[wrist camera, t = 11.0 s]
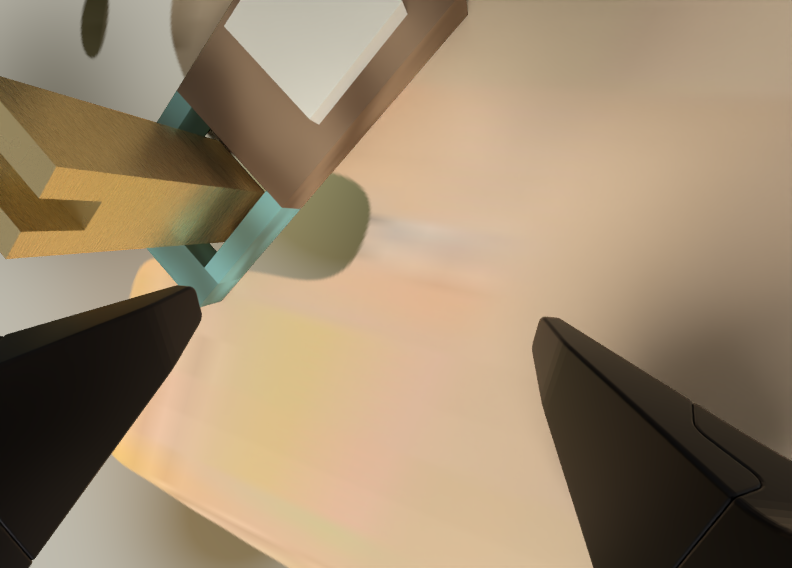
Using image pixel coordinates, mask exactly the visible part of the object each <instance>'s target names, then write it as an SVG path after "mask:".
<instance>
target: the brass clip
mask: <svg viewBox="0 0 792 568" xmlns="http://www.w3.org/2000/svg"><path fill="white" fill-rule="evenodd" d="M264 193H265V192H264V191H263V189H262V188H261V187H260V186H259V185H258V184H257V183H256V182H255V180H253V178H252V177H251V176H250V175H249V174H248V172H247V171H246V170H245V169H244V168H243V167H242V166H241V165H240V164H239V162H238V161H237V160H236V159H235V158H234V157H233V156H232V154H231V153H230V152H229V151H228V150H227V149H226V148H225V147H224V145H223V144H222V143H221V142H220V141H217V140H214V139H211V138H207V137H204V136H200V135H197V134H194V133H190V132H187V131H184V130H180V129H177V128H173V127H170V126H167V125H163V124H160V123H156V122H153V121H150V120H146V119H143V118H139V117H136V116H133V115H129V114H126V113H123V112H119V111H116V110H112V109H109V108H106V107H102V106H99V105H96V104H92V103H89V102H85V101H82V100H78V99H75V98H72V97H68V96H65V95H62V94H58V93H55V92H51V91H48V90H45V89H41V88H38V87H34V86H31V85H28V84H25V83H21V82H18V81H14V80H11V79H7V78H4V77H1V76H0V253H1V254H2V255H3V256H4V258H5V259H13V258H25V257H38V256H50V255H64V254H76V253H89V252H102V251H114V250H115V251H116V250H127V249H141V248H154V247H167V246H180V245H193V244H206V243H218V242H226V240H227V239H228V238H229V237H230V235H231V234H232V233H233V232H234V230H235V229H236V228H237V227H238V225H239V224H240V223H241V222H242V220H243V219H244V218H245V217H246V215H247V214H248V213H249V212H250V210H251V209H252V208H253V207H254V205H255V204H256V203H257V202H258V200H259V199H260V198H261V197H262V195H263V194H264Z"/></svg>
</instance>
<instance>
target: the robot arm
mask: <svg viewBox="0 0 792 568" xmlns="http://www.w3.org/2000/svg"><path fill="white" fill-rule="evenodd" d="M201 317H202V313H201V309H200V305H199V301H198V297H197V293H196V290H195V289H194V288H193V287H191V286H181V285H176V286H172V287H169V288H166V289H162V290H159V291H155V292H152V293H148V294H145V295H141V296H138V297H134V298H131V299H128V300H125V301H121V302H117V303H114V304H110V305H107V306H103V307H100V308H96V309H93V310H89V311H86V312H83V313H79V314H76V315H73V316H69V317H65V318H62V319H59V320H55V321H51V322H48V323H45V324H41V325H38V326H34V327H31V328H28V329H24V330H21V331H17V332H14V333H10V334H7V335H5V336H4V337H3V336H0V568H29V567H30V565H31V564H32V560H34V559H35V558H36V556H37V555H38V554H39V552H40V551H41V550H42V548H43V547H44V545H45V544H46V543H47V541H48V540H49V539H50V537H51V536H52V534H53V533H54V532H55V530H56V529H57V528H58V526H59V525H60V523H61V522H62V521H63V519H64V518H65V517H66V515H67V514H68V513H69V511H70V510H71V508H72V507H73V506H74V504H75V503H76V502H77V500H78V499H79V497H80V496H81V495H82V493H83V492H84V490H85V489H86V488H87V486H88V485H89V484H90V482H91V481H92V480H93V478H94V477H95V475H96V474H97V473H98V471H99V470H100V468H101V467H102V466H103V464H104V463H105V461H106V460H107V459H108V458H109V456H110V455H111V453H112V452H113V451H114V449H115V448H116V447H117V445H118V444H119V442H120V441H121V440H122V438H123V437H124V436H125V434H126V433H127V432H128V430H129V429H130V427H131V426H132V425H133V423H134V422H135V421H136V419H137V418H138V416H139V415H140V414H141V412H142V411H143V410H144V408H145V407H146V405H147V404H148V403H149V401H150V400H151V399H152V397H153V396H154V394H155V393H156V392H157V390H158V389H159V388H160V386H161V385H162V383H163V382H164V381H165V379H166V378H167V377H168V375H169V374H170V372H171V371H172V369H173V368H174V366H175V365H176V363H177V361H178V360H179V358H180V356H181V355H182V353H183V351H184V349H185V348H186V346H187V344H188V342H189V341H190V339H191V337H192V336H193V334H194V332H195V330H196V329H197V327H198V325H199V324H200V321H201ZM532 352H533V358H534V363H535V369H536V374H537V380H538V385H539V391H540V396H541V401H542V405H543V409H544V412H545V416H546V419H547V422H548V425H549V428H550V432H551V435H552V438H553V441H554V444H555V447H556V451H557V454H558V457H559V460H560V463H561V466H562V470H563V473H564V476H565V479H566V482H567V485H568V489H569V492H570V495H571V498H572V501H573V504H574V508H575V511H576V514H577V517H578V520H579V523H580V527H581V530H582V533H583V536H584V539H585V542H586V546H587V549H588V552H589V555H590V558H591V562H592V565H593V568H792V461H791V460H789V459H787V458H786V457H784V456H782V455H780V454H779V453H777V452H775V451H774V450H772V449H770V448H768V447H767V446H765V445H763V444H761V443H760V442H758V441H756V440H754V439H753V438H751V437H749V436H748V435H746V434H744V433H742V432H741V431H739V430H738V429H736V428H734V427H733V426H731V425H729V424H728V423H726V422H724V421H723V420H721V419H720V418H718V417H716V416H715V415H713V414H711V413H710V412H708V411H707V410H705V409H703V408H702V407H700V406H699V405H697V404H695V403H694V404H692V402H691V401H690V400H689V399H687V398H686V397H684V396H683V395H681V394H679V393H678V392H676V391H675V390H673V389H671V388H670V387H668V386H667V385H665V384H663V383H662V382H660V381H659V380H657V379H655V378H654V377H652V376H651V375H649V374H647V373H646V372H644V371H643V370H641V369H639V368H638V367H636V366H635V365H633V364H631V363H630V362H628V361H627V360H625V359H623V358H622V357H620V356H619V355H617V354H615V353H614V352H612V351H611V350H609V349H608V348H606V347H604V346H603V345H601V344H600V343H598V342H596V341H595V340H593V339H592V338H590V337H588V336H587V335H585V334H584V333H582V332H580V331H579V330H577V329H576V328H574V327H572V326H571V325H569V324H568V323H566V322H564V321H563V320H561V319H559V318H554V317H542V318H541V319H540V321H539V323H538V327H537V330H536V334H535V337H534V341H533V346H532Z"/></svg>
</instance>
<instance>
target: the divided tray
mask: <svg viewBox="0 0 792 568" xmlns="http://www.w3.org/2000/svg"><path fill="white" fill-rule="evenodd" d="M467 15H468V11H467V2H466V0H233V1H232V3H231V4H230V6H229V8H228V9H227V11H226V12H225V14H224V16H223V17H222V19H221V20H220V22H219V24H218V25H217V27H216V28H215V30H214V32H213V33H212V35H211V37H210V38H209V40H208V41H207V43H206V45H205V46H204V48H203V49H202V51H201V53H200V54H199V56H198V57H197V59H196V61H195V62H194V64H193V65H192V67H191V69H190V70H189V72H188V73H187V75H186V77H185V78H184V80H183V81H182V83H181V85H180V86H179V88H178V90H177V91H176V93H175V94H174V96H173V98H172V99H171V101H170V102H169V104H168V106H167V107H166V109H165V110H164V112H163V114H162V115H161V117H160V118H159V120H158V121H157V123H160V124H163V125H167V126H170V127H173V128H177V129H180V130H184V131H187V132H190V133H194V134H197V135H200V136H204V137H205V135H206V134H207V132H208V131H209V130H210V128H211V130H212V131H213V132H214V133H215V134H216V135H217V136H218V137H219V138H220V140H221V141H222V142H223V143H224V144H225V145H226V146H227V147H228V148H229V150H230V151H231V152H232V153H233V154H234V155H235V156H236V157H237V158H238V160H239V161H240V162H241V163H242V164H243V165H244V166H245V167H246V168H247V169H248V171H249V172H250V173H251V174H252V175H253V176H254V177H255V178H256V180H257V181H258V182H259V183H260V184H261V185H262V186H263V187H264V189H265V190H266V192H265V193H264V194H263V195H262V197H261V198H260V199H259V200H258V202H257V203H256V204H255V205H254V207H253V208H252V209H251V210H250V212H249V213H248V214H247V215H246V217H245V218H244V219H243V220H242V222H241V223H240V224H239V225H238V227H237V228H236V229H235V230H234V232H233V233H232V234H231V235H230V237H229V238H228V239H227V240H226V242H225V243H224V244H223V245H222V247H221V248H220V249H219V250H218V251H216V250H215V249H214V248H213V247H212V246H211V245H210V243H206V244H193V245H180V246H167V247H154V248H147V249H148V251H149V252H150V253H151V254H152V255H153V256H154V258H155V259H156V260H157V261H158V262H159V263H160V264H161V266H162V267H163V268H164V269H165V270H166V271H167V273H168V274H169V275H170V276H171V277H172V278H173V280H174V281H175V282H176V283H177V284H178V285H181V286H191V287H193V288H194V289H195V290H196V293H197V297H198V301H199V305H200V307H203V306H206V305H210V304H213V303H216V302H220V301H222V300H223V299H224V297H225V296H226V295H227V294H228V293H229V292H230V290H231V289H232V288H233V287H234V286H235V285H236V283H237V282H238V281H239V280H240V279H241V278H242V276H243V275H244V274H245V273H246V272H247V271H248V270H249V268H250V267H251V266H252V265H253V264H254V262H255V261H256V260H257V259H258V258H259V257H260V255H261V254H262V253H263V252H264V251H265V250H266V249H267V247H268V246H269V245H270V244H271V243H272V242H273V240H274V239H275V238H276V237H277V236H278V235H279V233H280V232H281V231H282V230H283V229H284V227H285V226H286V225H287V224H288V223H289V222H290V221H291V219H292V218H293V217H294V216H295V215H296V214H297V213H298V211H299V210H300V209H301V208H302V207H303V206H304V204H305V203H306V202H307V201H308V200H309V199H310V197H311V196H312V195H313V194H314V193H315V192H316V190H317V189H318V188H319V187H320V186H321V185H322V183H323V182H324V181H325V180H326V179H327V178H328V176H329V175H330V174H331V173H332V172H333V171H334V169H335V168H336V167H337V166H338V165H339V164H340V163H341V161H342V160H343V159H344V158H345V157H346V156H347V154H348V153H349V152H350V151H351V150H352V149H353V147H354V146H355V145H356V144H357V143H358V142H359V140H360V139H361V138H362V137H363V136H364V135H365V133H366V132H367V131H368V130H369V129H370V128H371V126H372V125H373V124H374V123H375V122H376V121H377V119H378V118H379V117H380V116H381V115H382V114H383V112H384V111H385V110H386V109H387V108H388V107H389V106H390V104H391V103H392V102H393V101H394V100H395V99H396V97H397V96H398V95H399V94H400V93H401V92H402V90H403V89H404V88H405V87H406V86H407V85H408V83H409V82H410V81H411V80H412V79H413V78H414V76H415V75H416V74H417V73H418V72H419V71H420V69H421V68H422V67H423V66H424V65H425V64H426V62H427V61H428V60H429V59H430V58H431V57H432V55H433V54H434V53H435V52H436V51H437V50H438V49H439V47H440V46H441V45H442V44H443V43H444V42H445V40H446V39H447V38H448V37H449V36H450V35H451V33H452V32H453V31H454V30H455V29H456V28H457V26H458V25H459V24H460V23H461V22H462V21H463V19H464V18H465V17H466V16H467Z"/></svg>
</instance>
